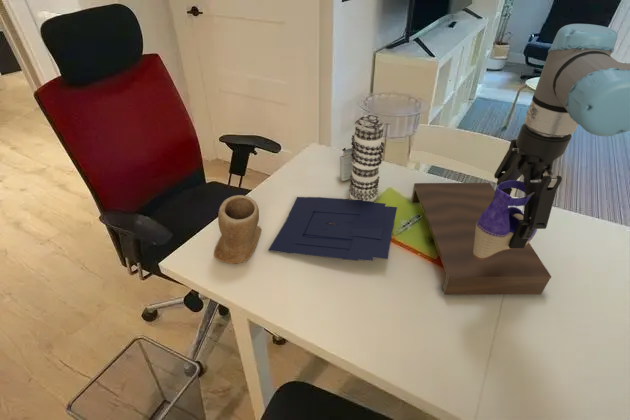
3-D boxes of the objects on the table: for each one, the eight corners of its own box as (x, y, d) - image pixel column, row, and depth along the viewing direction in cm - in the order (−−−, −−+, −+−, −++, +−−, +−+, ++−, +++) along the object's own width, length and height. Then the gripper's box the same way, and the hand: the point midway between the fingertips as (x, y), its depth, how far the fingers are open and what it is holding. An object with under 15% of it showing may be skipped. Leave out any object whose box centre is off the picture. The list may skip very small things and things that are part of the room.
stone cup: (254, 270, 90) (247, 223, 81) (209, 263, 92) (196, 216, 83) (272, 230, 102) (268, 184, 92) (231, 224, 104) (223, 179, 94)
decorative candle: (343, 190, 116) (346, 114, 101) (369, 184, 119) (377, 109, 103) (355, 206, 110) (362, 128, 94) (383, 199, 112) (394, 123, 97)
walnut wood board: (541, 294, 84) (551, 276, 80) (444, 294, 84) (449, 277, 80) (484, 199, 112) (489, 182, 109) (411, 199, 112) (414, 183, 109)
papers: (386, 272, 88) (386, 261, 85) (269, 258, 96) (267, 248, 94) (397, 210, 106) (398, 200, 104) (298, 203, 115) (297, 193, 112)
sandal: (550, 235, 78) (581, 174, 69) (483, 268, 70) (508, 206, 61) (517, 213, 84) (542, 155, 74) (451, 243, 76) (470, 182, 67)
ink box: (368, 170, 125) (371, 139, 118) (372, 173, 124) (375, 142, 116) (338, 178, 122) (339, 146, 114) (341, 181, 120) (343, 150, 113)
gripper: (498, 101, 70) (468, 196, 84) (559, 163, 53) (509, 270, 67) (538, 101, 70) (501, 196, 84) (612, 163, 53) (550, 270, 67)
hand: (505, 229), depth 76 cm, fingers closed on sandal, 10 cm apart
